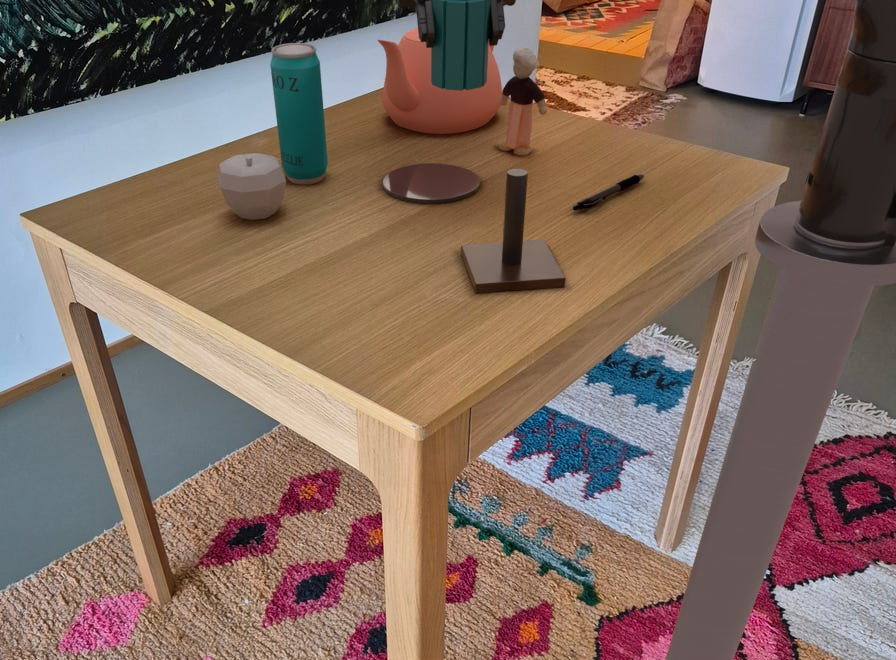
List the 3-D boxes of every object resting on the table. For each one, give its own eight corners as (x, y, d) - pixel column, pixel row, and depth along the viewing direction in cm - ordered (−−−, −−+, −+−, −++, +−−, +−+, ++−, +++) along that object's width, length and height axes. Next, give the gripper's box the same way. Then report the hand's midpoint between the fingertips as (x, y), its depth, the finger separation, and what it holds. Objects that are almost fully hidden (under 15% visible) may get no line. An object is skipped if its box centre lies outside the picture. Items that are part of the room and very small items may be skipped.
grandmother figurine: (486, 149, 113) (491, 46, 104) (501, 141, 115) (506, 40, 107) (537, 160, 109) (545, 55, 101) (550, 152, 112) (560, 48, 103)
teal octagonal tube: (489, 76, 89) (493, -9, 84) (480, 91, 85) (484, 3, 80) (438, 73, 90) (439, -12, 85) (427, 88, 86) (427, 0, 81)
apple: (213, 227, 94) (202, 169, 90) (232, 200, 100) (224, 144, 96) (281, 229, 94) (274, 171, 89) (297, 202, 100) (291, 146, 95)
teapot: (427, 155, 111) (427, 45, 103) (338, 129, 120) (330, 25, 111) (533, 109, 126) (541, 9, 117) (447, 89, 134) (448, -6, 125)
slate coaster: (486, 170, 107) (487, 166, 106) (470, 207, 98) (470, 203, 98) (396, 164, 109) (396, 160, 109) (371, 199, 100) (371, 195, 100)
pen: (581, 216, 95) (582, 206, 94) (569, 212, 96) (570, 202, 95) (650, 182, 103) (651, 173, 102) (638, 179, 103) (640, 170, 103)
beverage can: (299, 167, 108) (286, 40, 99) (337, 173, 107) (327, 45, 97) (274, 182, 105) (258, 51, 95) (313, 189, 103) (301, 56, 93)
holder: (543, 247, 89) (552, 153, 83) (564, 287, 82) (576, 187, 76) (460, 253, 89) (463, 158, 82) (475, 293, 82) (479, 192, 75)
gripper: (378, -146, 80) (393, 21, 79) (524, -149, 81) (542, 16, 80) (375, -87, 88) (389, 66, 86) (509, -90, 89) (525, 61, 88)
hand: (463, 41), depth 83 cm, fingers closed on teal octagonal tube, 6 cm apart
